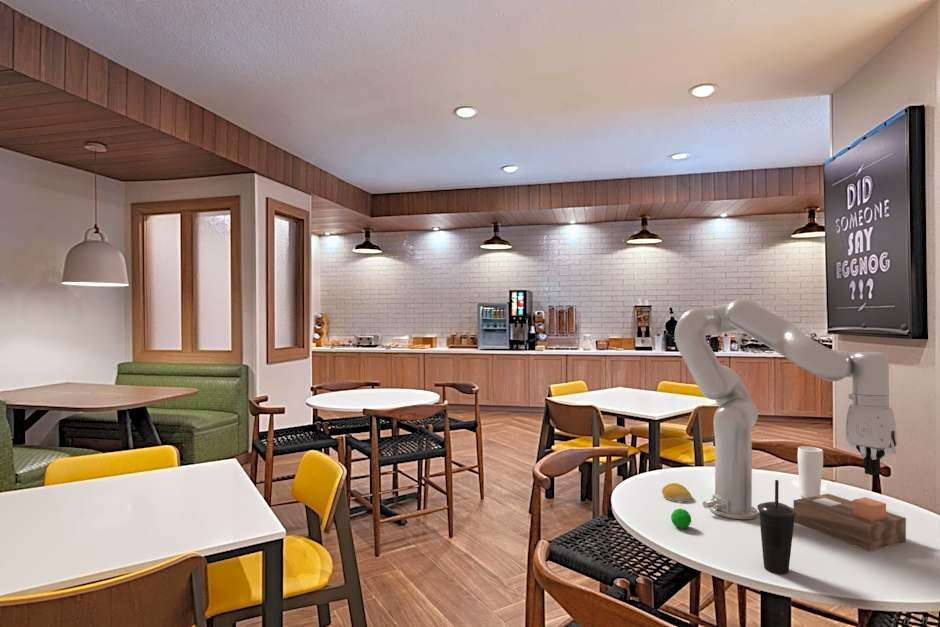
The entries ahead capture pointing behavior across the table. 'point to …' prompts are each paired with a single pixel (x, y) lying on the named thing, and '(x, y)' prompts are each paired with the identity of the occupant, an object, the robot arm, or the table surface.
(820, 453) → the drinking glass
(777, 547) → the drinking cup
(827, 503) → the white plug
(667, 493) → the bread roll
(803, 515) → the walnut block
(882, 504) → the terracotta plug
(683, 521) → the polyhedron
